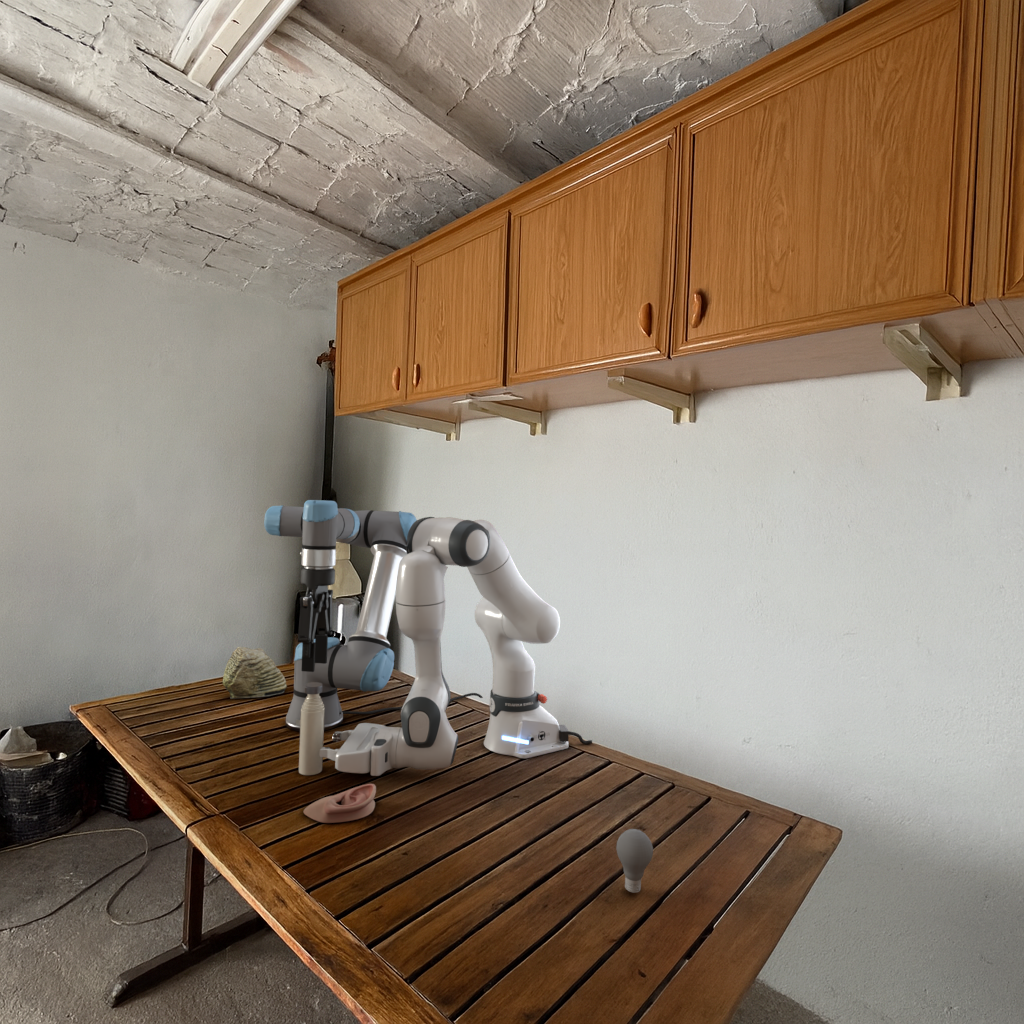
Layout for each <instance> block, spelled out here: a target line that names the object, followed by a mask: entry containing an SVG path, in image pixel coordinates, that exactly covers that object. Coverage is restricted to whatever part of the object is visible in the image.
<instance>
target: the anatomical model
mask: <svg viewBox="0 0 1024 1024" xmlns="http://www.w3.org/2000/svg"><path fill="white" fill-rule="evenodd" d="M376 793H377V785H376V784H374V783H365V784H362V785H359V786H355V787H353V788H349V789H347V790H345V791H341V792H340V793H337V794H334V795H329V796H326V797H322V798H320V799H318V800H316V801H314V802H312V803H311V804H309V805H308V806H306V807H305V808H304V809H303V810H302V811H303V814H304V815H305V816H307V817H308V818H309V819H311V820H313V821H316V822H318V823H324V824H332V823H333V824H335V823H345V822H350V821H351V822H352V821H355V820H356V821H357V820H359V819H363V818H365V817H368V816H369V815H371V814H372V813H373V812H374V810H375V808H376V802H375V800H374V799H375V796H376Z"/></svg>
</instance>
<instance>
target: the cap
mask: <svg viewBox="0 0 1024 1024" xmlns="http://www.w3.org/2000/svg"><path fill="white" fill-rule="evenodd" d="M321 692H322V683H319V682H311V683H307V684H305V693H306V694H319V693H321Z"/></svg>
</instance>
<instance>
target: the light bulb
mask: <svg viewBox="0 0 1024 1024" xmlns="http://www.w3.org/2000/svg"><path fill="white" fill-rule="evenodd" d="M615 849H616V854H617V857H618V859H619V861H620V863H621V865H622V867H623V873H624V874H623V875H624V876H625V878H624V888H625V890H627V891H628V892H630V893H634V894H635V893H639V892H640V891H641V889H642V887H641V886H642V879H643V877H644V875H645V871H646V868H647V867H648V866H649V864H650V863H651V861H652V859H653V855H654V847H653V843H652V841H651V838H649V836H648V835H647V834H646V833H645V832H643V831H642V830H641V829H636V828H629V829H627V830H625V831H623V832H622V833H621V834H620V835H619V837H618V839H617V841H616V847H615Z"/></svg>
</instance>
